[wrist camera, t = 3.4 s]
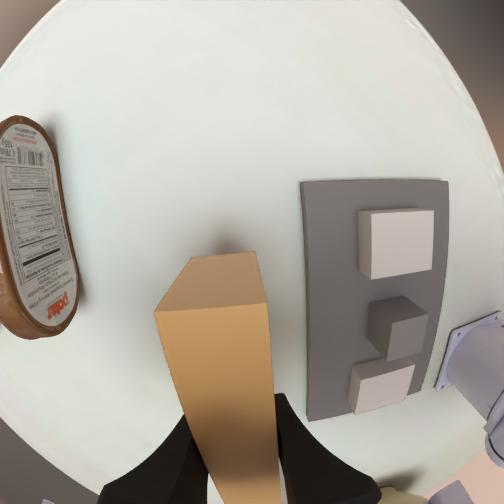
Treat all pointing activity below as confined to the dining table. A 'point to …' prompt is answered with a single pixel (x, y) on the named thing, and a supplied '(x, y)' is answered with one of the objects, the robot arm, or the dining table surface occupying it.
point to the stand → (371, 289)
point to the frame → (225, 372)
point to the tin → (33, 235)
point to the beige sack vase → (399, 497)
